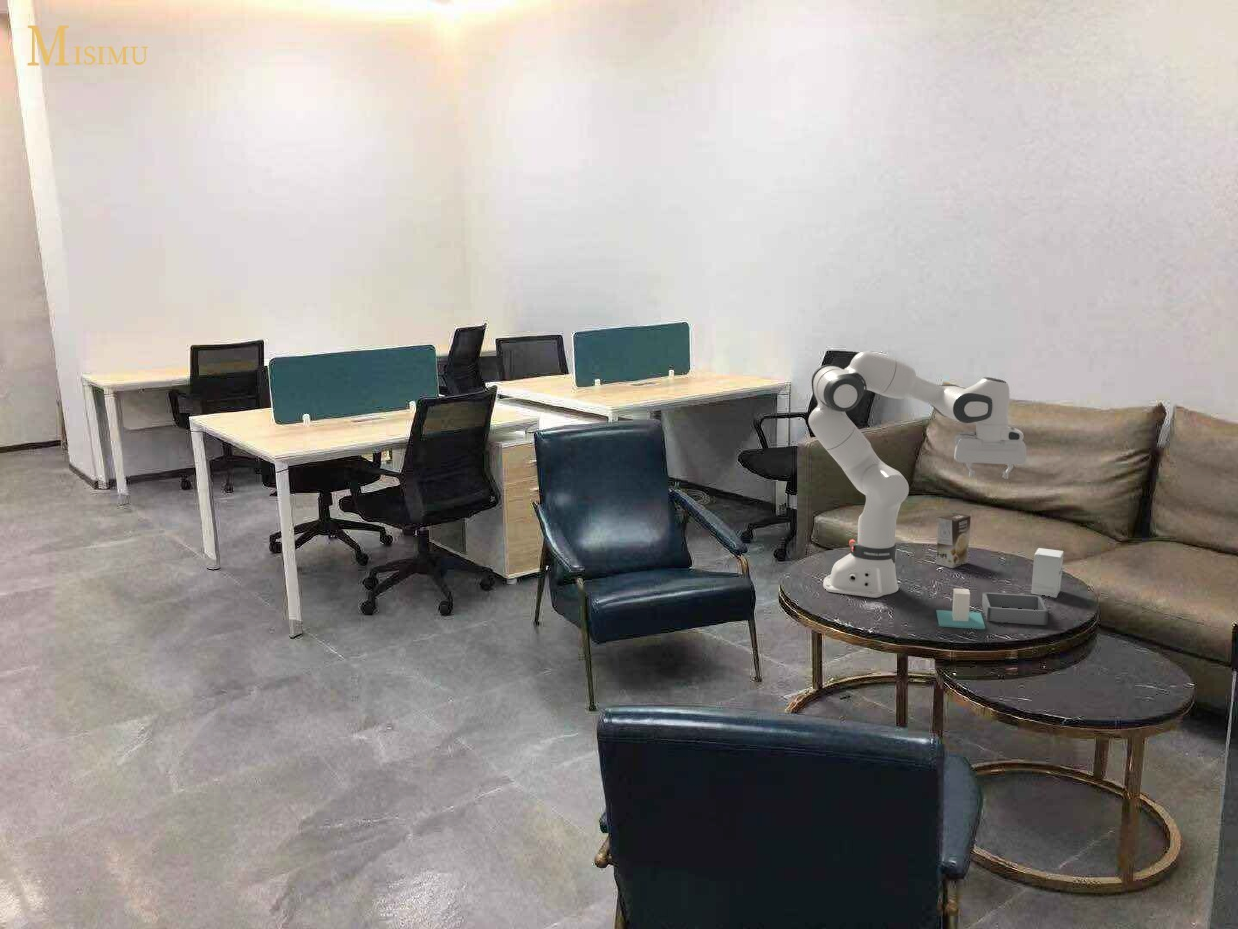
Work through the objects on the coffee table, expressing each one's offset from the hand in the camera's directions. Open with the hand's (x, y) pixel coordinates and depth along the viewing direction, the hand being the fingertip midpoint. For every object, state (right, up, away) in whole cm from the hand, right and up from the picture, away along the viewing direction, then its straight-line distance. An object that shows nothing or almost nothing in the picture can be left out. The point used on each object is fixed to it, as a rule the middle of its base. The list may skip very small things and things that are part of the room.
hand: (988, 477), depth 297 cm
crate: (+1, -39, -16) cm, 42 cm away
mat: (-15, -40, -20) cm, 47 cm away
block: (-15, -39, -20) cm, 46 cm away
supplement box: (+17, -35, +1) cm, 39 cm away
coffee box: (-2, -29, +28) cm, 40 cm away
